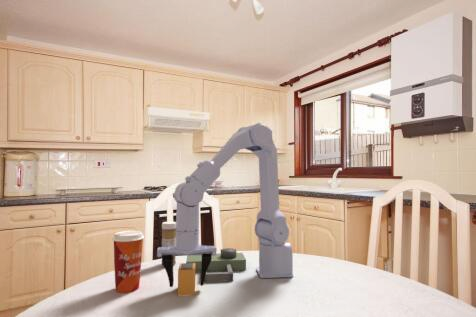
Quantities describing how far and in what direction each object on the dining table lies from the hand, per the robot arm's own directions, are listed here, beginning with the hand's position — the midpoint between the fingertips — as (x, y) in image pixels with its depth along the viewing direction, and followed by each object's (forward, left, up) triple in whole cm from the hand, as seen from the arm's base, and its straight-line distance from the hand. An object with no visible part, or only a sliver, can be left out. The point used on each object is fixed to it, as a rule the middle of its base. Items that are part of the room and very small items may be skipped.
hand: (186, 284), depth 73 cm
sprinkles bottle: (+7, -22, -2) cm, 23 cm away
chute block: (0, 0, -2) cm, 2 cm away
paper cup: (+15, -3, -2) cm, 15 cm away
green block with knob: (-8, -14, -1) cm, 16 cm away
